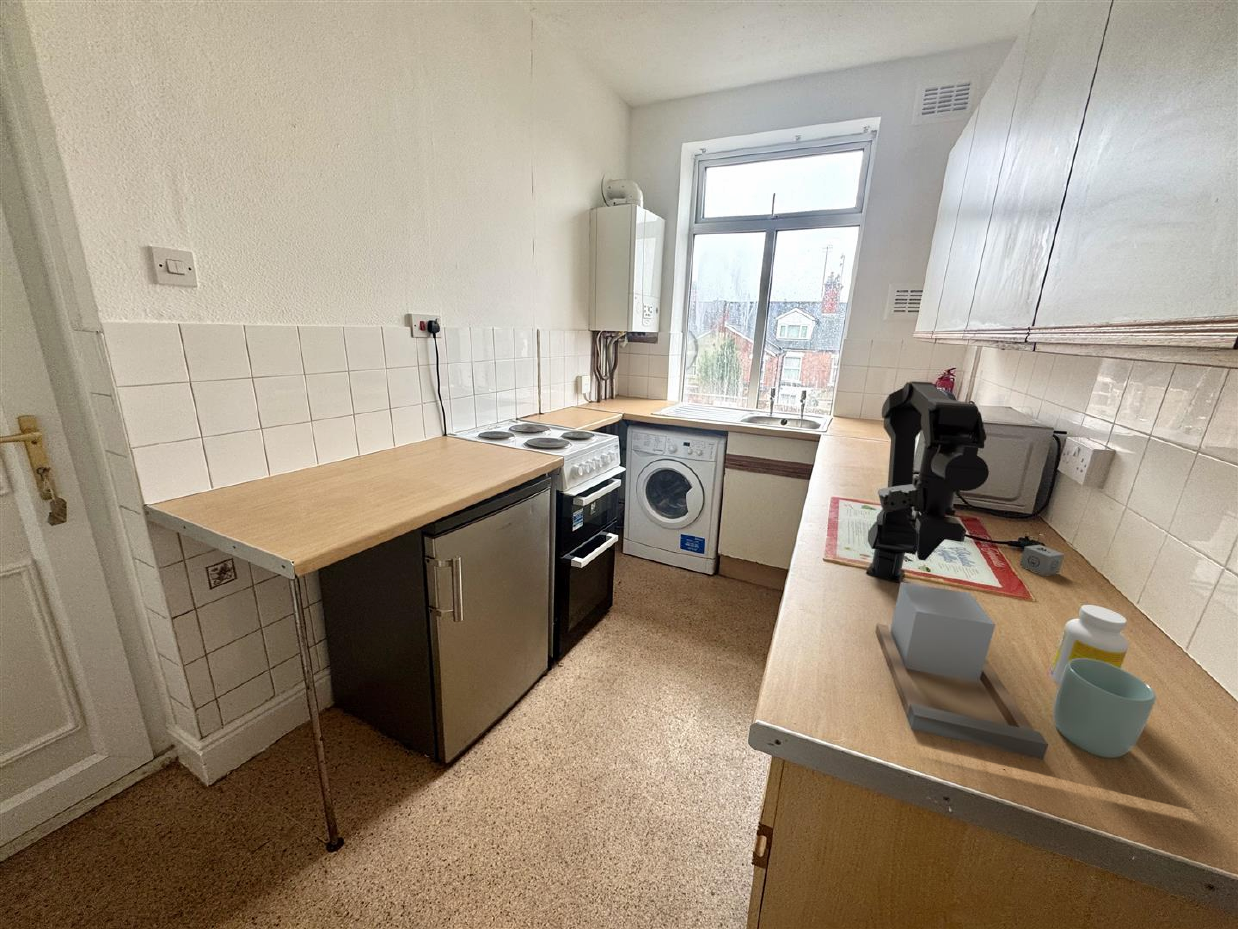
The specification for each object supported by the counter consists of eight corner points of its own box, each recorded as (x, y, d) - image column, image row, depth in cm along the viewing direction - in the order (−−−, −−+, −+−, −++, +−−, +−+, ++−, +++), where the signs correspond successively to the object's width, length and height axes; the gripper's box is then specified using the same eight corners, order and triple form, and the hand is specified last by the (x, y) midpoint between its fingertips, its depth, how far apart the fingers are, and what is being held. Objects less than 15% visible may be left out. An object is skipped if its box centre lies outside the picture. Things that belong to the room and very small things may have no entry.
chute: (874, 635, 82) (877, 620, 81) (970, 653, 78) (974, 637, 77) (909, 733, 62) (914, 714, 61) (1041, 764, 58) (1048, 744, 57)
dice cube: (1034, 564, 111) (1039, 544, 110) (1058, 574, 107) (1064, 554, 105) (1018, 566, 110) (1024, 546, 109) (1042, 576, 105) (1049, 556, 104)
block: (889, 634, 81) (900, 582, 79) (956, 646, 79) (970, 593, 76) (903, 668, 73) (916, 611, 70) (978, 683, 70) (995, 624, 68)
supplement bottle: (1121, 709, 67) (1151, 631, 64) (1067, 700, 69) (1094, 623, 65) (1086, 677, 74) (1112, 604, 70) (1038, 670, 75) (1061, 598, 71)
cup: (1146, 765, 58) (1174, 698, 56) (1094, 773, 57) (1121, 704, 54) (1078, 716, 66) (1100, 655, 63) (1031, 722, 64) (1051, 659, 62)
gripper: (879, 459, 93) (866, 534, 96) (893, 481, 76) (876, 571, 79) (946, 466, 88) (930, 544, 92) (976, 491, 72) (954, 585, 75)
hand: (921, 559), depth 85 cm, fingers closed
